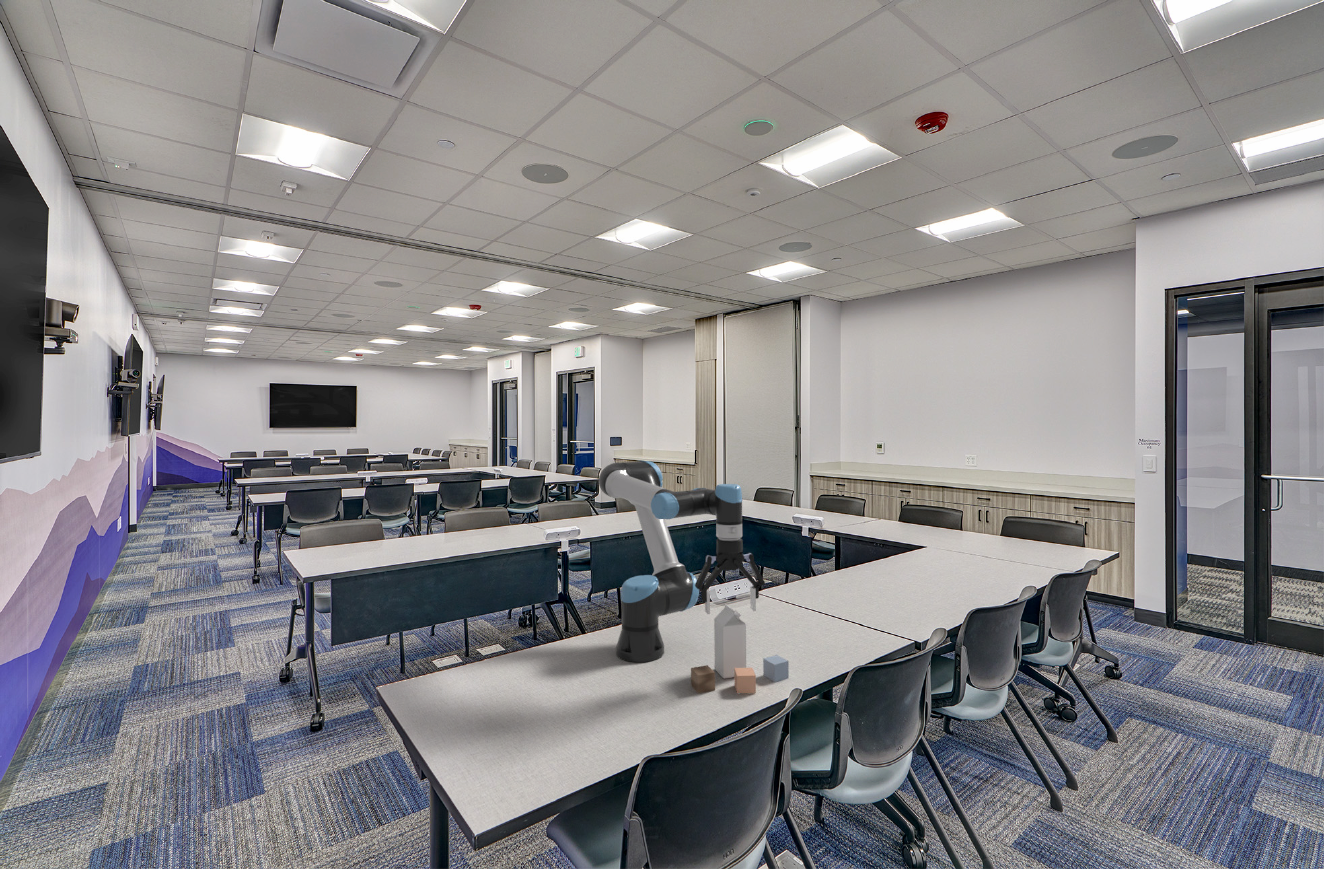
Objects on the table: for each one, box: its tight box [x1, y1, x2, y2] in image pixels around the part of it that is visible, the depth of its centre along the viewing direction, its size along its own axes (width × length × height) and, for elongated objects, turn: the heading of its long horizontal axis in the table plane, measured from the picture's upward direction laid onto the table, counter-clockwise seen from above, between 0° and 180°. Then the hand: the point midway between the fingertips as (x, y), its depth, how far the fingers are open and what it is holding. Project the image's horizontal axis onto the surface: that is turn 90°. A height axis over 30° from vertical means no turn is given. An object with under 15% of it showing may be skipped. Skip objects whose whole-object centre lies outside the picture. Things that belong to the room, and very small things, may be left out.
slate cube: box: [762, 654, 790, 683], centre depth 164 cm, size 5×5×5 cm
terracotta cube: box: [733, 667, 757, 695], centre depth 157 cm, size 5×5×5 cm
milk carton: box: [713, 603, 747, 679], centre depth 167 cm, size 7×7×19 cm
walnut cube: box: [690, 664, 716, 694], centre depth 158 cm, size 5×5×5 cm
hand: (730, 611), depth 167 cm, fingers open, 13 cm apart
